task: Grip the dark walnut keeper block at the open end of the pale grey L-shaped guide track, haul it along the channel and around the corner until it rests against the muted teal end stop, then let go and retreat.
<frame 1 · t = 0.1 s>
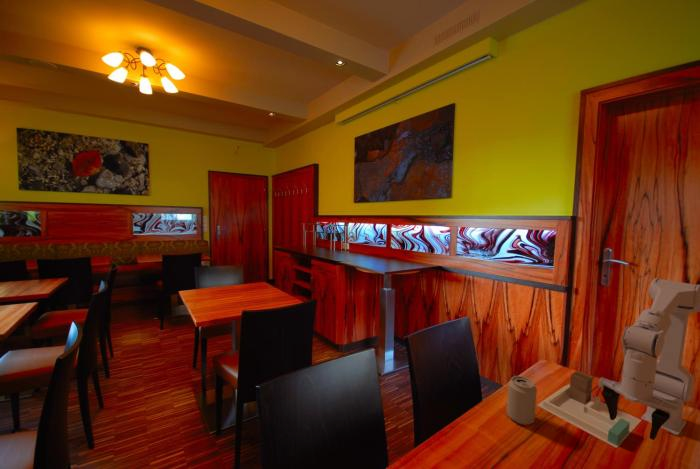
hand: (632, 427, 77), 10 cm above the table, fingers open, 7 cm apart
guide track: (585, 413, 97), on the table
keeper: (579, 398, 104), point 1 cm above the table, touching guide track
can: (520, 418, 95), on the table
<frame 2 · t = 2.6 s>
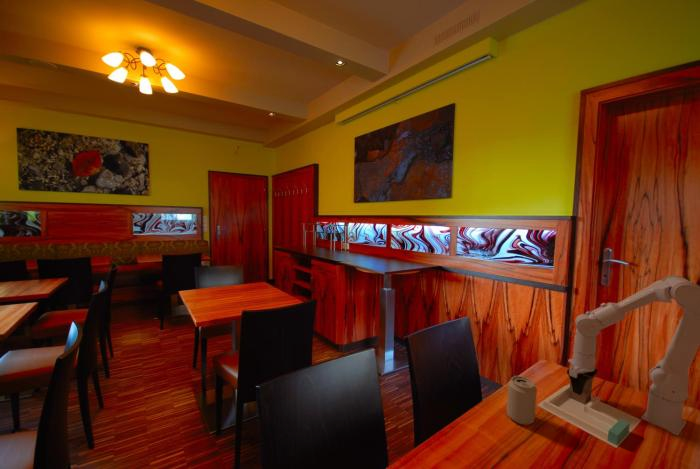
hand: (580, 390, 103), 3 cm above the table, fingers closed on keeper, 4 cm apart
keeper: (579, 398, 104), point 1 cm above the table, touching gripper, guide track
everything else where it was.
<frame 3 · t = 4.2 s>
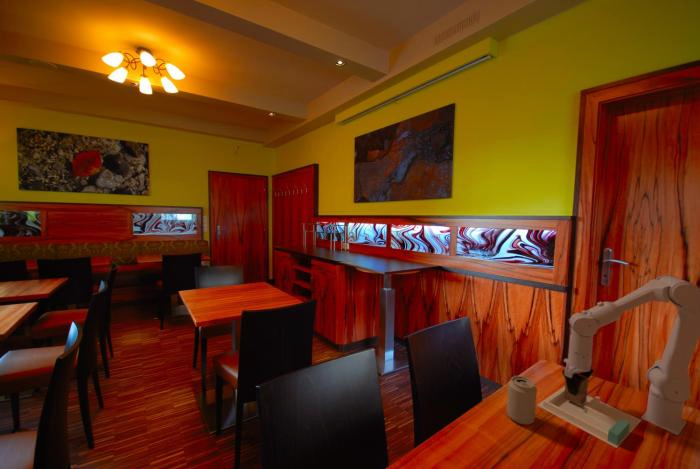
hand: (575, 391, 101), 4 cm above the table, fingers closed on keeper, 4 cm apart
keeper: (575, 399, 102), point 2 cm above the table, touching gripper
everything else where it was.
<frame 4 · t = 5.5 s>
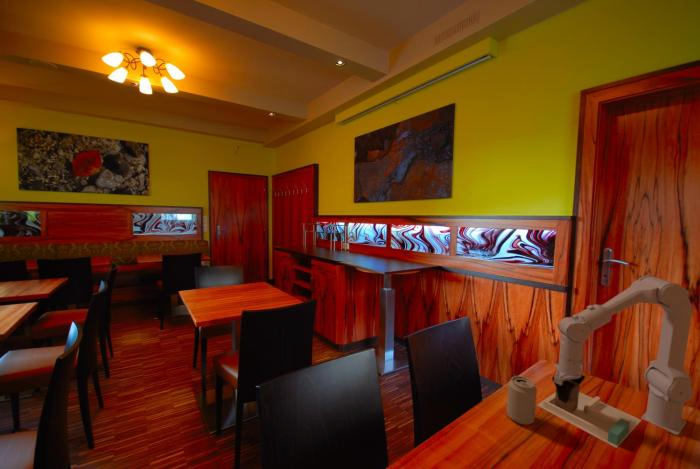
hand: (566, 398, 98), 4 cm above the table, fingers closed on keeper, 4 cm apart
keeper: (565, 406, 98), point 2 cm above the table, touching gripper
everything else where it was.
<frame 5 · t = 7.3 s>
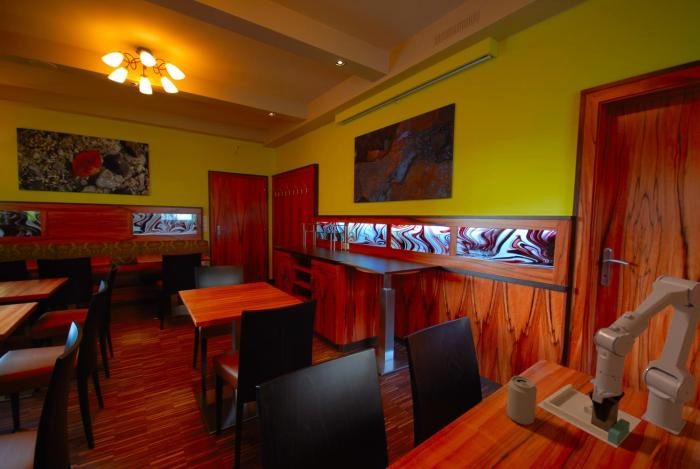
hand: (604, 416, 90), 4 cm above the table, fingers closed on keeper, 4 cm apart
keeper: (603, 425, 90), point 2 cm above the table, touching gripper
everything else where it was.
when the fingers open (4 cm above the table, at t = 8.7 s): keeper stays where it is, resting on guide track.
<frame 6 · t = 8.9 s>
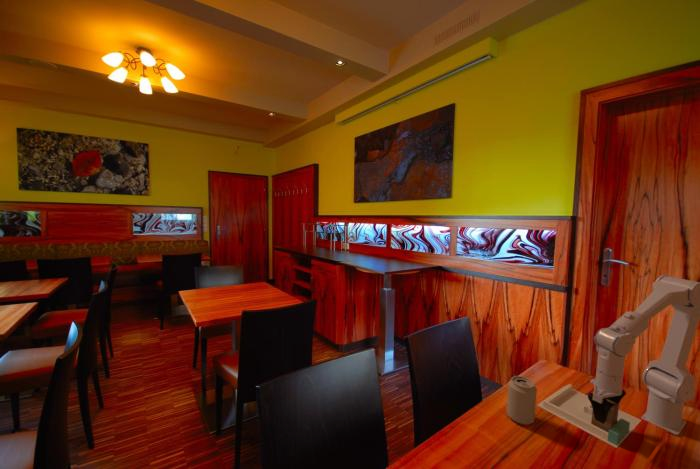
hand: (604, 416, 90), 4 cm above the table, fingers open, 6 cm apart
keeper: (603, 428, 90), point 1 cm above the table, touching guide track
everything else where it was.
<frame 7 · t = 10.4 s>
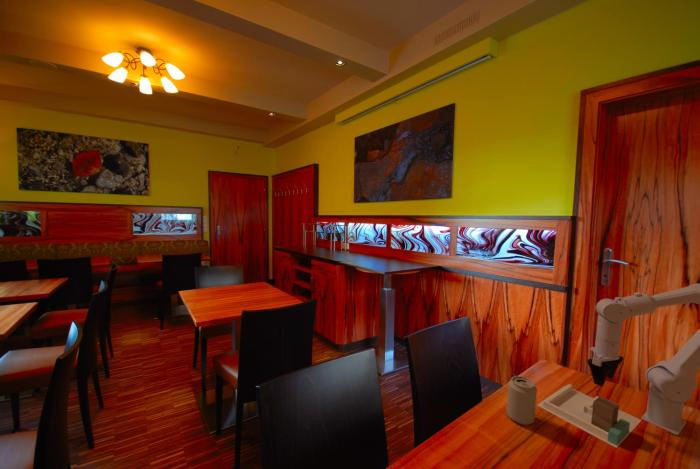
hand: (603, 380, 97), 10 cm above the table, fingers open, 7 cm apart
nothing on the table moved.
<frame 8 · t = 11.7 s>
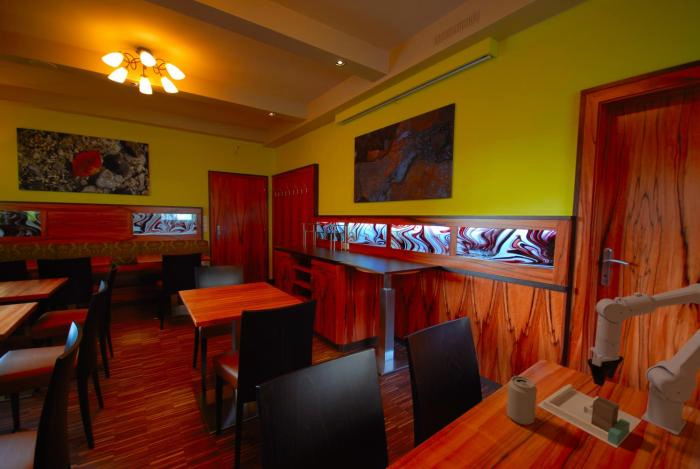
hand: (603, 380, 97), 10 cm above the table, fingers open, 7 cm apart
nothing on the table moved.
at the end: keeper 0.4 cm from the target spot, point 0.6 cm above the table; keeper tilted 0°; the gripper is holding nothing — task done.
